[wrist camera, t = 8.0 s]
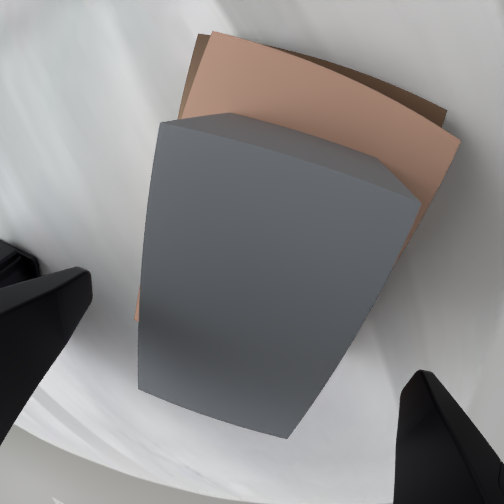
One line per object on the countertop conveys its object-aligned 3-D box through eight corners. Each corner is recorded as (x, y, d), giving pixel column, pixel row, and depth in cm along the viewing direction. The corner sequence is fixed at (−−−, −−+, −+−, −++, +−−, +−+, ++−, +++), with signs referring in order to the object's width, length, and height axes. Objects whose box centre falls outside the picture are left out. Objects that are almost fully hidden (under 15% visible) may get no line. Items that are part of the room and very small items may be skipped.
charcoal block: (300, 340, 13) (287, 439, 9) (189, 304, 14) (138, 389, 9) (376, 157, 10) (421, 203, 5) (229, 112, 10) (160, 123, 6)
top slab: (307, 351, 17) (303, 391, 15) (159, 288, 18) (134, 319, 15) (433, 132, 11) (461, 140, 9) (234, 45, 11) (212, 30, 9)
